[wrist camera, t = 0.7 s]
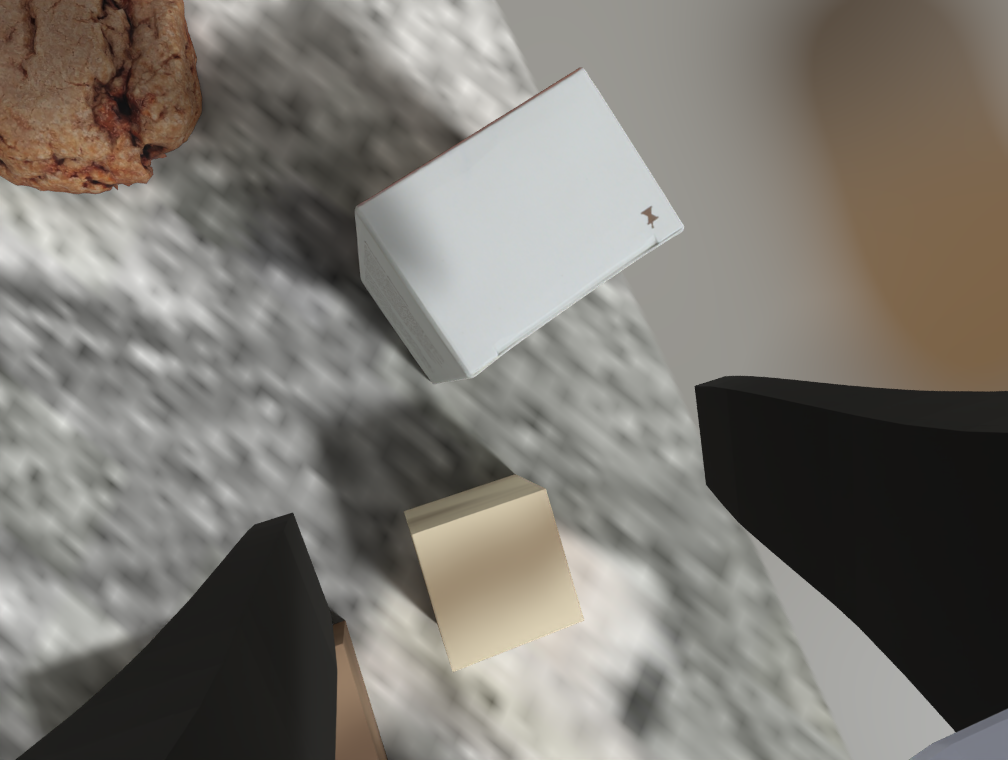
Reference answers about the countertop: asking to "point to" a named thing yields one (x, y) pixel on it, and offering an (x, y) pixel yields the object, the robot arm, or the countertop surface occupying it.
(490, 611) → the maple cube
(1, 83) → the cookie
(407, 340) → the small box
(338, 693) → the walnut block
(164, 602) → the countertop surface
